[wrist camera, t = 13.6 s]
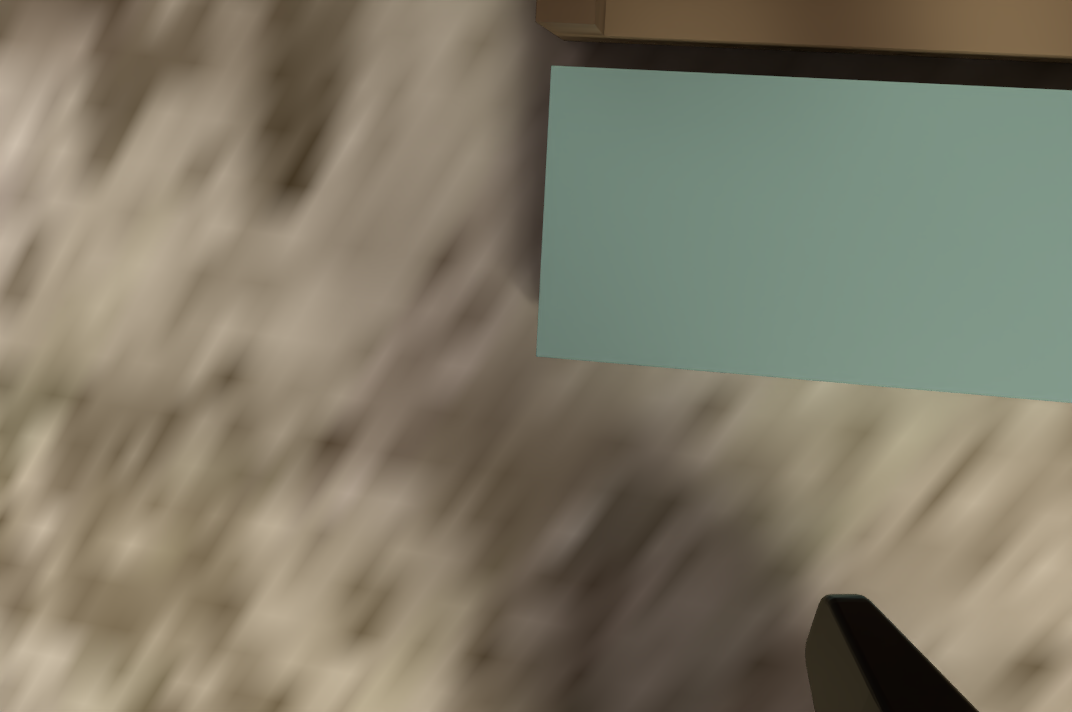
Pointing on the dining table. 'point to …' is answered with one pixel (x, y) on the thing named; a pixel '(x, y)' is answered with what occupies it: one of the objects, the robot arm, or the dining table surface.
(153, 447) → the dining table surface
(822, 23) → the cart
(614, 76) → the tailgate
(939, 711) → the robot arm
